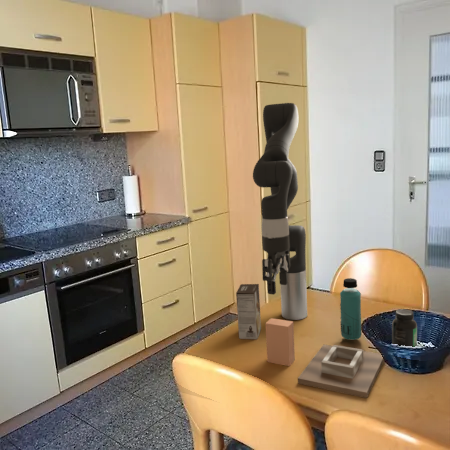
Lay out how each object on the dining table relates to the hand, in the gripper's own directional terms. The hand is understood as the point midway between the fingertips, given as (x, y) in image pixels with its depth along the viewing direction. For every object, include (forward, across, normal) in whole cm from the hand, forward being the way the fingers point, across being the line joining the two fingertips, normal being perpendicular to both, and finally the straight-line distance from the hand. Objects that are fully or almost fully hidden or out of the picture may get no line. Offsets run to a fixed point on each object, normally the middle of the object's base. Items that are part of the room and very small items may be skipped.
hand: (277, 289), depth 134 cm
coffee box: (+22, -14, -17) cm, 31 cm away
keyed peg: (+22, 0, 0) cm, 22 cm away
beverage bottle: (+22, -21, +15) cm, 34 cm away
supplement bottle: (+22, -20, +31) cm, 43 cm away
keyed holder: (+22, -1, +18) cm, 28 cm away
